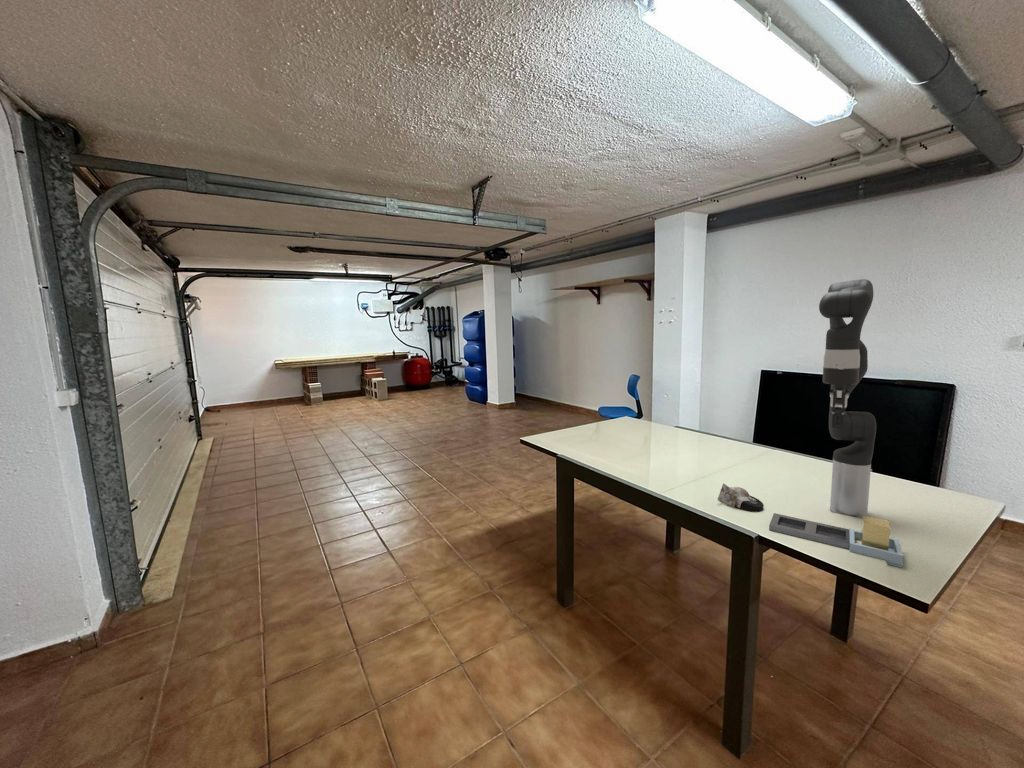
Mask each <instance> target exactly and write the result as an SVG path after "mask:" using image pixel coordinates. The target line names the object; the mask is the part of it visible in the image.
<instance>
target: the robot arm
mask: <svg viewBox="0 0 1024 768" xmlns="http://www.w3.org/2000/svg"><path fill="white" fill-rule="evenodd" d="M873 300H874V286H873V283H872V282H871V280H869V279H866V278H861V279H854V280H853V279H852V280H847V281H841V282H835V283H832V284H830V285H829V287H828V290H827V293H826V294H824V295H823V296H822V297H821V299H820V301H819V304H818V308H819V309H818V310H819V313H820V315H821V316H822V317H824V318H826V319H829V320H828V321H829V329H828V330H827V331H826V335H825V351H824V356H823V366H822V382H823V384H826V385H827V384H828V385H830V390H829V397H830V400H829V401H830V402H829V412H828V431H829V434H830V437H831V438H832V439H834V440H837V441H850V442H851V441H852V442H853V441H854V442H853V443H851V444H850V445H848V446H845V447H840V448H837V449H835V450H834V451H833V454H832V469H831V470H832V472H831V485H830V486H831V487H830V488H831V489H830V500H829V501H830V503H829V511H831V512H832V513H833V514H838V515H844V516H849V517H854V518H858V519H863V516H867V517H868V512H869V511H868V510H869V499H870V498H869V497H870V486H871V484H870V483H871V471H872V459H873V455H874V451H875V450H874V449H875V440H876V435H877V421H876V418H875V416H874V414H872V413H871V412H868V411H848V410H847V411H846V409H847V407H848V399H849V397H850V395H851V393H852V392H853V390H854V389H855V388H856V387H857V386H858V384H859V383H860V382H861V381H862V379H864V376H865V375H866V374H867V372H868V366H869V365H868V363H869V362H868V360H869V359H868V348H867V346H866V345H865V343H864V342H863V341H862V340H861V334H862V329H863V325H864V322H865V320H866V318H867V316H868V314H869V311H870V309H871V307H872V304H873ZM846 318H847V319H848V318H851V321H850V322H849V323H846V321H845V320H844V319H846Z"/></svg>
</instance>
